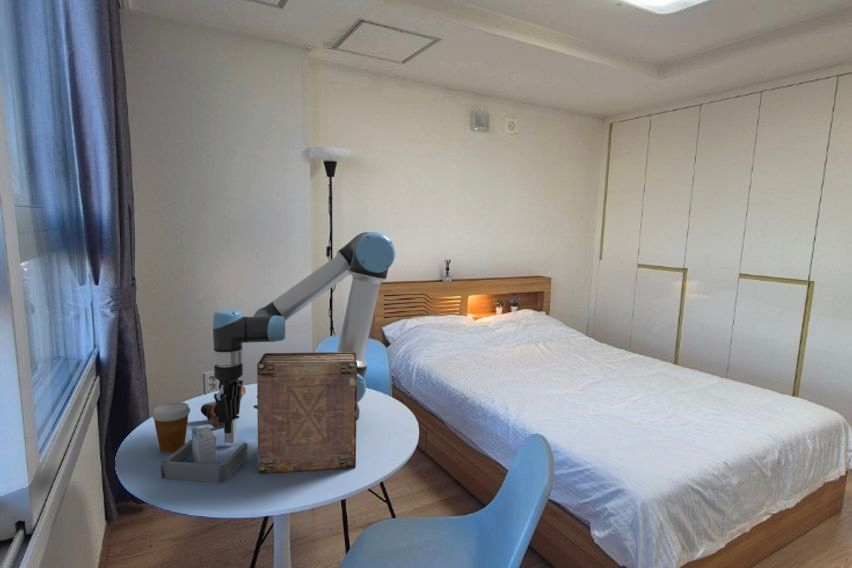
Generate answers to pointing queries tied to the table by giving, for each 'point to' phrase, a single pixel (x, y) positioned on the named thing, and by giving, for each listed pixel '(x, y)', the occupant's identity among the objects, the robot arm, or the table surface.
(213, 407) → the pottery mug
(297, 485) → the table surface
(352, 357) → the book
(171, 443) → the disposable coffee cup
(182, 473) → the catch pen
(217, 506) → the table surface
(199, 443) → the medicine box
